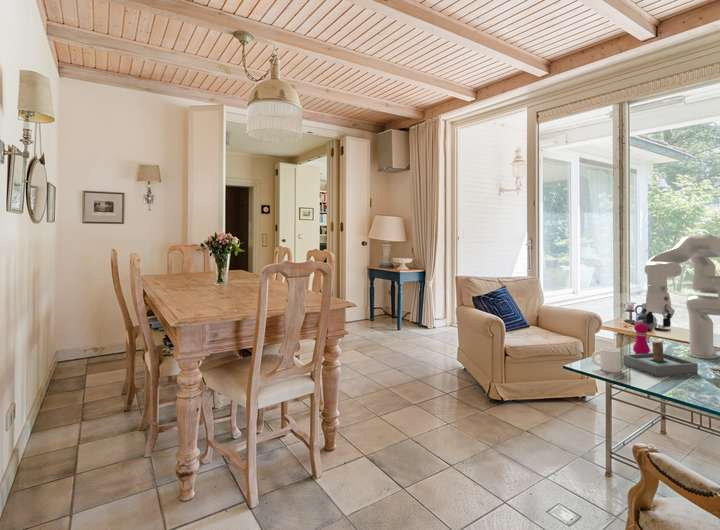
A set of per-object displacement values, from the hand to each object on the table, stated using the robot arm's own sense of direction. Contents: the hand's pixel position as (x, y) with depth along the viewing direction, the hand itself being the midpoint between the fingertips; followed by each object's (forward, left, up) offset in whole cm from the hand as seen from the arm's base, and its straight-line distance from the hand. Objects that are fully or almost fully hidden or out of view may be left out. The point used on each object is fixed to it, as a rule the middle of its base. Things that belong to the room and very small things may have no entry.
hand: (658, 324), depth 189 cm
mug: (+23, -5, -22) cm, 32 cm away
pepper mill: (-7, -19, -22) cm, 30 cm away
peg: (0, 0, -20) cm, 20 cm away
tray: (0, 0, -22) cm, 22 cm away
